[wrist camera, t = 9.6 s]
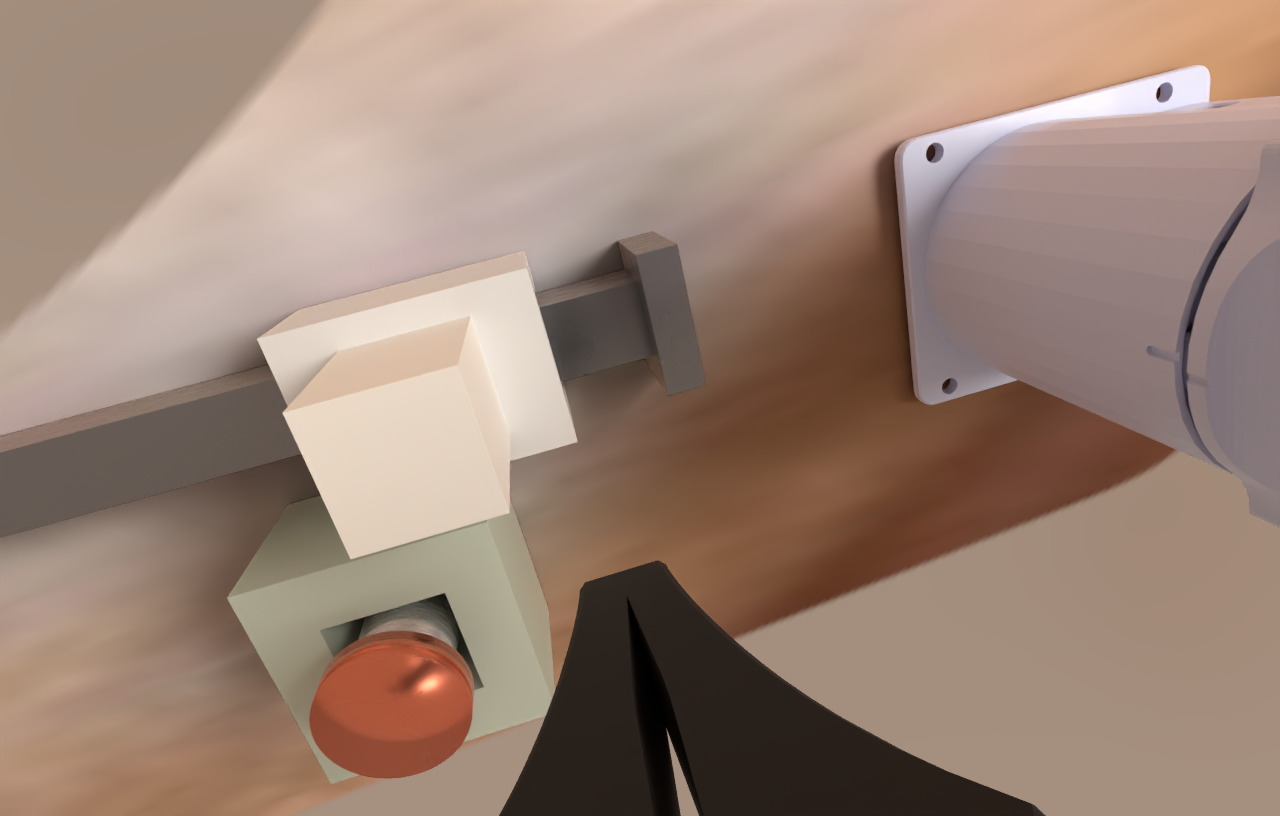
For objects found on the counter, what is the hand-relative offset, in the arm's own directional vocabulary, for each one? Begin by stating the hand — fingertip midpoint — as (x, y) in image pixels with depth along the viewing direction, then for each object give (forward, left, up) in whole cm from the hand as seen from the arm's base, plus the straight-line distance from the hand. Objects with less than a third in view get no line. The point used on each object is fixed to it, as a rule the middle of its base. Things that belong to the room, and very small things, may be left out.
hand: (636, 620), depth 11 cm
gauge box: (+6, +3, -10) cm, 12 cm away
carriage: (+3, -3, -10) cm, 11 cm away
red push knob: (+6, +3, -9) cm, 11 cm away
